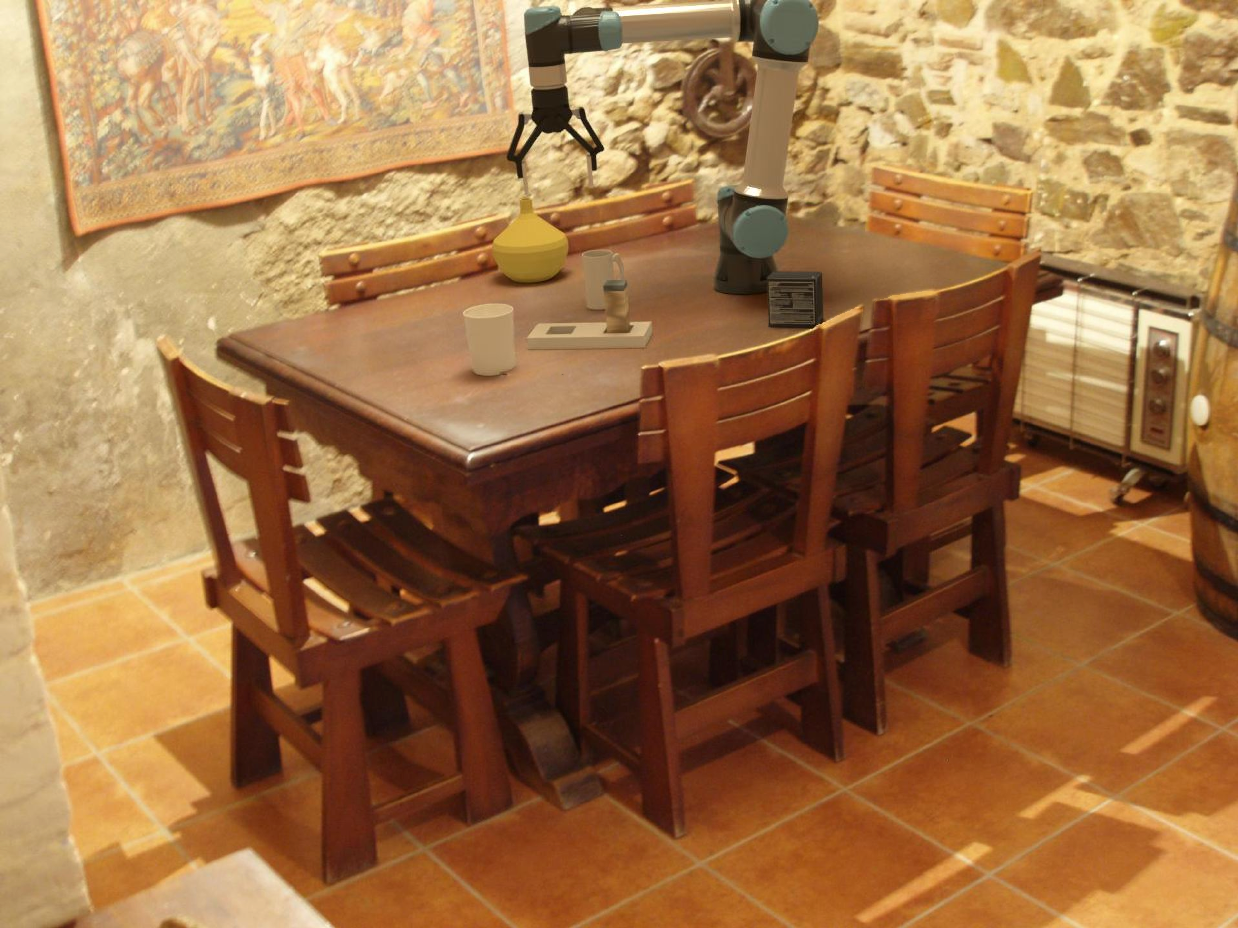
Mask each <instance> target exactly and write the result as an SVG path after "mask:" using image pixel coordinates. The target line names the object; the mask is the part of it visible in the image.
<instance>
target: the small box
mask: <svg viewBox="0 0 1238 928" xmlns="http://www.w3.org/2000/svg"><path fill="white" fill-rule="evenodd" d="M823 289H824V287H823V271H799V270H798V271H797V270H796V271H791V270H790V271H787V270H786V271H781V270H779V271H773V272H772V273H771V274H770V275H769V276H768V277H767V291H766V292H767V313H768V314H767V315H768V316H767V317H768V319H767V320H768V322H767V325H768V326H767V327H769V328H800V327H801V328H800V329H802V328H804V329H805V328H806V329H807V328H809V329H810V328H811V329H813V328H812V327H815V326H816V325H818V324H820V323H822V322H823V321H824V296H823V295H824V294H823V293H824V292H823ZM820 325H821V324H820Z"/></svg>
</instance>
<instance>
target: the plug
mask: <svg viewBox="0 0 1238 928" xmlns="http://www.w3.org/2000/svg"><path fill="white" fill-rule="evenodd" d="M603 290H604V299H605V309H604V310H605V312H604V313H605V322H606V325H607V333H630V322H631V321H630V308H629V293H628V292H629V291H628V280H627V279H623V280H617V279H614V280H607V281H606V282H605V284H604V285H603Z"/></svg>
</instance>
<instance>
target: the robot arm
mask: <svg viewBox="0 0 1238 928" xmlns="http://www.w3.org/2000/svg"><path fill="white" fill-rule="evenodd" d="M817 12H818V11H817V9H816V8H815V6H814V5H813V3H812V2H811V0H708V1H705V0H704V1H691V2H689V1H688V2H672V3H659V4H658V3H657V4H655V3H654V4H643V5H638V4H637V5H626V6H625V5H624V6H611V7H590V6H585V7H581V8H578V9H576V11H575V12H573V14H572V15H571V14H569V15H568V14H566V15H565V14H562V12H561V8H560V6H557V5H549V6H548V5H547V6H545V5H544V6H536V7H530V8H527V9H526V10H525V12H524V13H523V22H524V39H525V46H526V56H527V63H528V74H529V75H528V76H529V85H530V86H531V87H533V88H532V89H531V90H530V94H531V105H532V107H531V108H532V111H531V113H524V112H519V113H518V115H517V125H516V128H515V131H514V134H513V137H512V139H511V143H510V145H509V148H508V151H507V153H506V160H507V161H508V162H513V163H515V165H516V166H515V169H516V175H517V178H518V179H522V181H523V191H524V195H527V196H528V195H529V185H528V175H527V165H526V161H525V160H524V159H525V157H526V156H527V154H528V153H529V151H530V150H531V148H532V146H533V145H534V144H535V142H536V141H537V139H538V138H539V137H540V136H541V134H543V133H544V134H547V135H549V134H552V133H556V134H557V133H562V132H564V130H565V131H566V132H567V133H568V134H569V135H570V136H571V137H572V138H573V139H574V140H575V141H576V142H578V144H580V146H582V147H583V148H584V150H586V151H587V153H588V154H586V155H585V158H586V167H587V178H588V180H587V181H588V187H589V189H594V179H593V177H594V175H593V172H595V171H596V172H597V170H598V164H597V163H598V162H597V155H598V154H599V153H601V152H604V151H605V147H604V145H603V143H602V142H601V140H600V139H599V137H598V135H597V134H596V133H597V132H595V130H594V129H593V127H592V125H591V124H590V122H589V120H588V119H587V114H586V110H585V108H584V107H583V106H579V107H578V108H574V109H571V108H570V100H569V91H568V90H569V87H568V86H567V85H566V83H568V80H567V79H568V78H567V68H566V59H565V55H572V54H584V53H597V52H608V51H614V50H619V49H621V47H623V46H622V45H623V44H636V43H637V44H638V43H654V42H655V43H657V42H673V41H675V42H676V41H688V40H689V41H692V40H709V39H720V38H721V39H727V38H730V39H731V40H732V41H733V42H734V43H738V42H739V43H740V42H741V43H743V42H750V43H752V44H753V45H752V52H751V58H752V59H753V60H754V62H755V64H756V65H757V70H756V71H757V72H756V78H755V85H754V92H753V100H752V101H753V102H752V109H751V113H750V114H751V115H750V123H749V131H748V138H747V145H746V152H745V153H746V154H745V161H744V166H743V167H744V168H743V175H742V181H741V183H739V184H732V185H731V184H730V185H725V186H722V187H720V188H718V190H717V199H716V203H717V212H718V213H717V215H718V217H717V218H718V219H717V220H718V238H719V257H718V260H717V264H716V268H715V271H714V274H713V289H715V290H716V291H718V292H720V293H725V294H731V295H749V294H750V295H754V294H760V293H761V294H762V293H765V292H767V277H768V276H769V275H770V274H771V273H772V272H773V271H780V270H779V268H778V265H777V262H776V260H775V257H774V255H775V254H777V252H779V251H781V249H782V248H783V247H784V246H785V244H786V242H787V239H788V238H789V233H790V232H789V222H788V218H787V211H788V210H787V209H788V202H789V196H790V195H789V193H788V192H787V191H786V189H785V187H784V179H785V172H786V167H787V158H788V151H789V145H790V138H791V130H792V123H793V117H794V110H795V103H796V102H795V101H796V95H797V90H798V80H799V75H800V71H801V69H803V68H804V67H805V66H806V65H807V64H808V63H809V58H810V57H809V56H810V50H811V45H812V44H813V43H814V42H815V40H816V37H817V35H818V32H819V26H820V25H819V23H820V22H819V20H820V19H819V16H818V13H817ZM573 116H575V118H576V119H577V120H580V121H581V123H582V125H583V126H584V128H585V130H586V132H587V133H588V135H589V136H590V139H591V140H592V141H593V143H594V145H595V146H594V147H593V146H592V145H591V144H590V143H589V142H588V140H586V139H585V138H584V137H583V136H582V134H580V133H579V132H578V131H577V130H576V129H575V128H574V127H573V126H572V124H570V121H571V119H572V117H573ZM530 120H531V121H532V122H533V124H535V125H536V126H535V128H534V129H533V130H532V132H531V133H530V135H529V137H528V138H527V140H526V141H525V142H524V144H523V145H522V147H521V149H520V150H519V151H518V152H517V154H515V153H516V151H517V148H518V145H519V142H520V140H521V137H522V135H523V132H524V128H525V125H528V124H529V121H530Z"/></svg>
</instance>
